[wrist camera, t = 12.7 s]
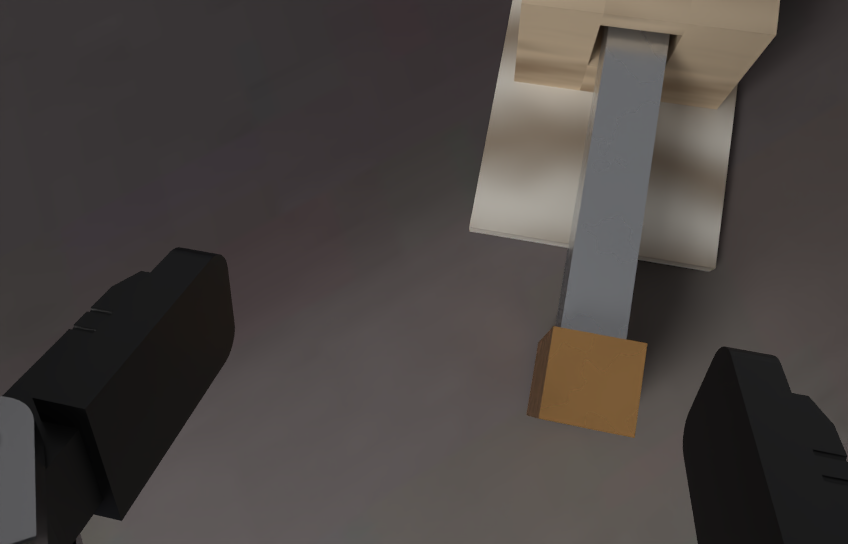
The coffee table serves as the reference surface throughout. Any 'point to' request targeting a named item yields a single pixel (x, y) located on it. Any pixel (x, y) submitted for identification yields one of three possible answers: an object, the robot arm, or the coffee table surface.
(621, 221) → the shaft
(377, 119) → the coffee table surface
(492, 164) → the base board
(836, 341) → the coffee table surface
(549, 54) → the bearing block
